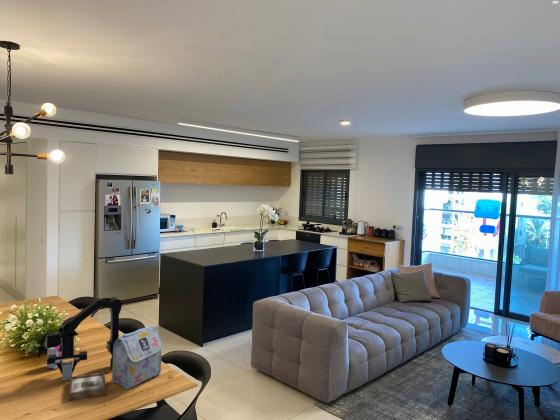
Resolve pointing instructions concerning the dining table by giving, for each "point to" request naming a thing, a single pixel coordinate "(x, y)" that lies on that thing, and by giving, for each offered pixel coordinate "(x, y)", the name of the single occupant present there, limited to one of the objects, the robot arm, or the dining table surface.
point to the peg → (67, 370)
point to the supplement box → (52, 352)
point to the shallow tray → (87, 386)
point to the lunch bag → (136, 357)
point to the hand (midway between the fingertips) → (67, 373)
